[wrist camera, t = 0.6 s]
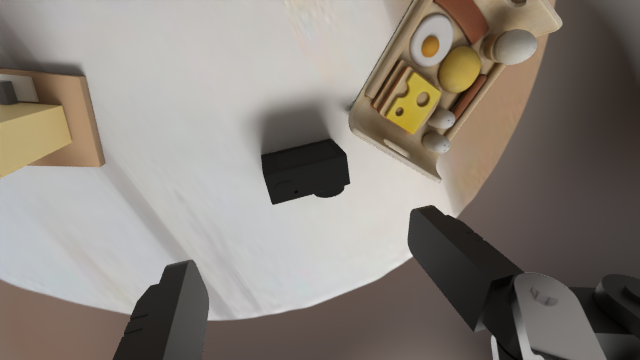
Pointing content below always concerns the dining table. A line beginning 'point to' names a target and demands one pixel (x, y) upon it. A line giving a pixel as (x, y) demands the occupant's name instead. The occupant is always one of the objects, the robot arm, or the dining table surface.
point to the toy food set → (442, 73)
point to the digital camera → (306, 171)
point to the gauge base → (76, 109)
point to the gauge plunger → (28, 130)
